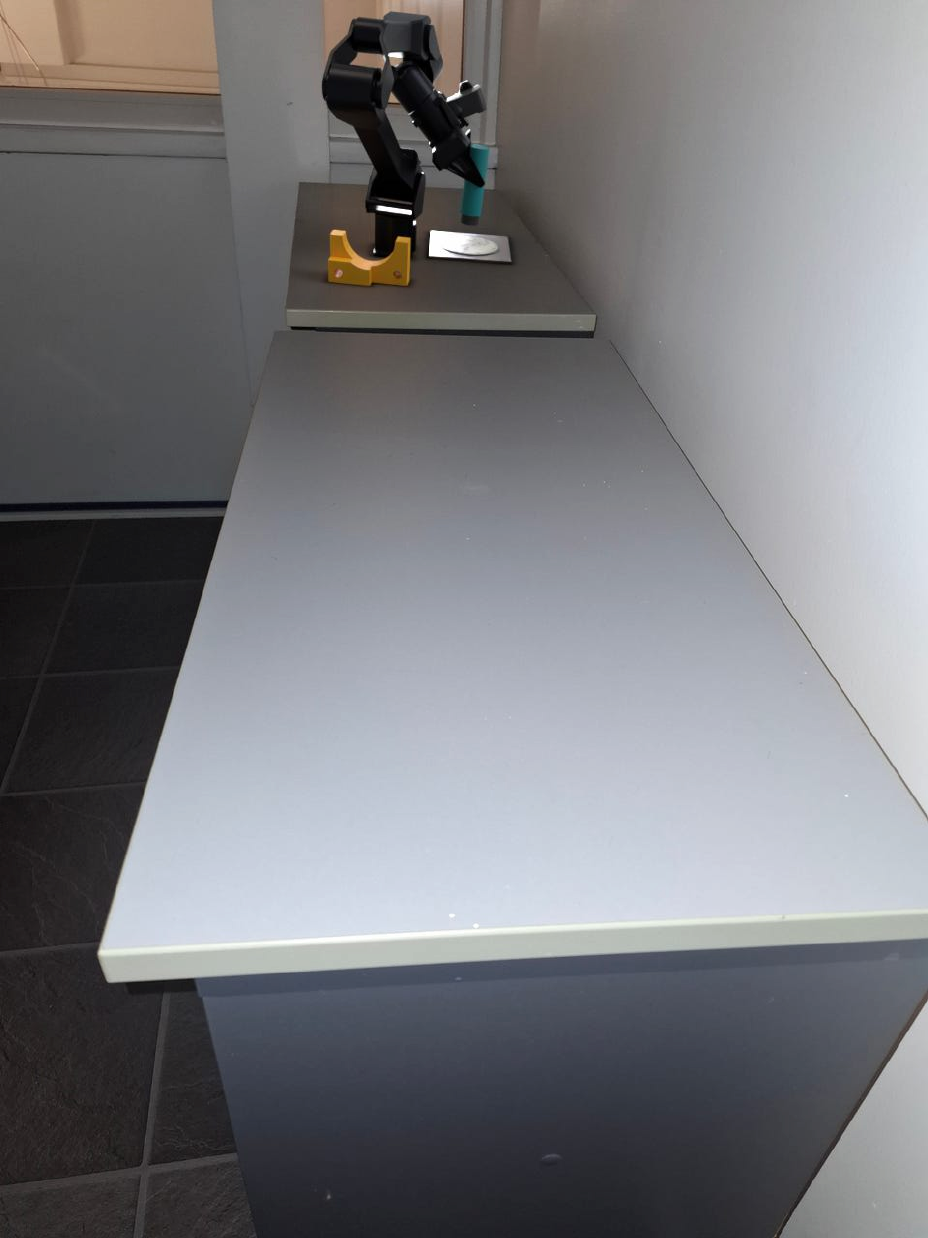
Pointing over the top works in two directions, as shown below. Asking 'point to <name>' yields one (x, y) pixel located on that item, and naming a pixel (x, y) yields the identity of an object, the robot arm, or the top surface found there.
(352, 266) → the pipe clamp
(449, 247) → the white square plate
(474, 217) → the dot marker
